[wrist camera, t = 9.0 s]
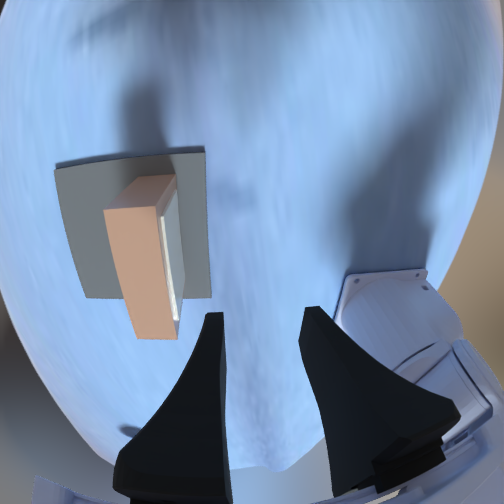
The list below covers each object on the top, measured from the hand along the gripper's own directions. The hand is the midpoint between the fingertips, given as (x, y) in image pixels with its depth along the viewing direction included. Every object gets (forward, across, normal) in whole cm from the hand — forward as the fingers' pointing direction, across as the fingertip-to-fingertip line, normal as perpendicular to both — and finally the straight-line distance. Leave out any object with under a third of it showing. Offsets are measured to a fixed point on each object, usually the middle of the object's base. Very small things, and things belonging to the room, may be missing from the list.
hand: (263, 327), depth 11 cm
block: (+9, +6, 0) cm, 11 cm away
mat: (+9, +8, 0) cm, 12 cm away
